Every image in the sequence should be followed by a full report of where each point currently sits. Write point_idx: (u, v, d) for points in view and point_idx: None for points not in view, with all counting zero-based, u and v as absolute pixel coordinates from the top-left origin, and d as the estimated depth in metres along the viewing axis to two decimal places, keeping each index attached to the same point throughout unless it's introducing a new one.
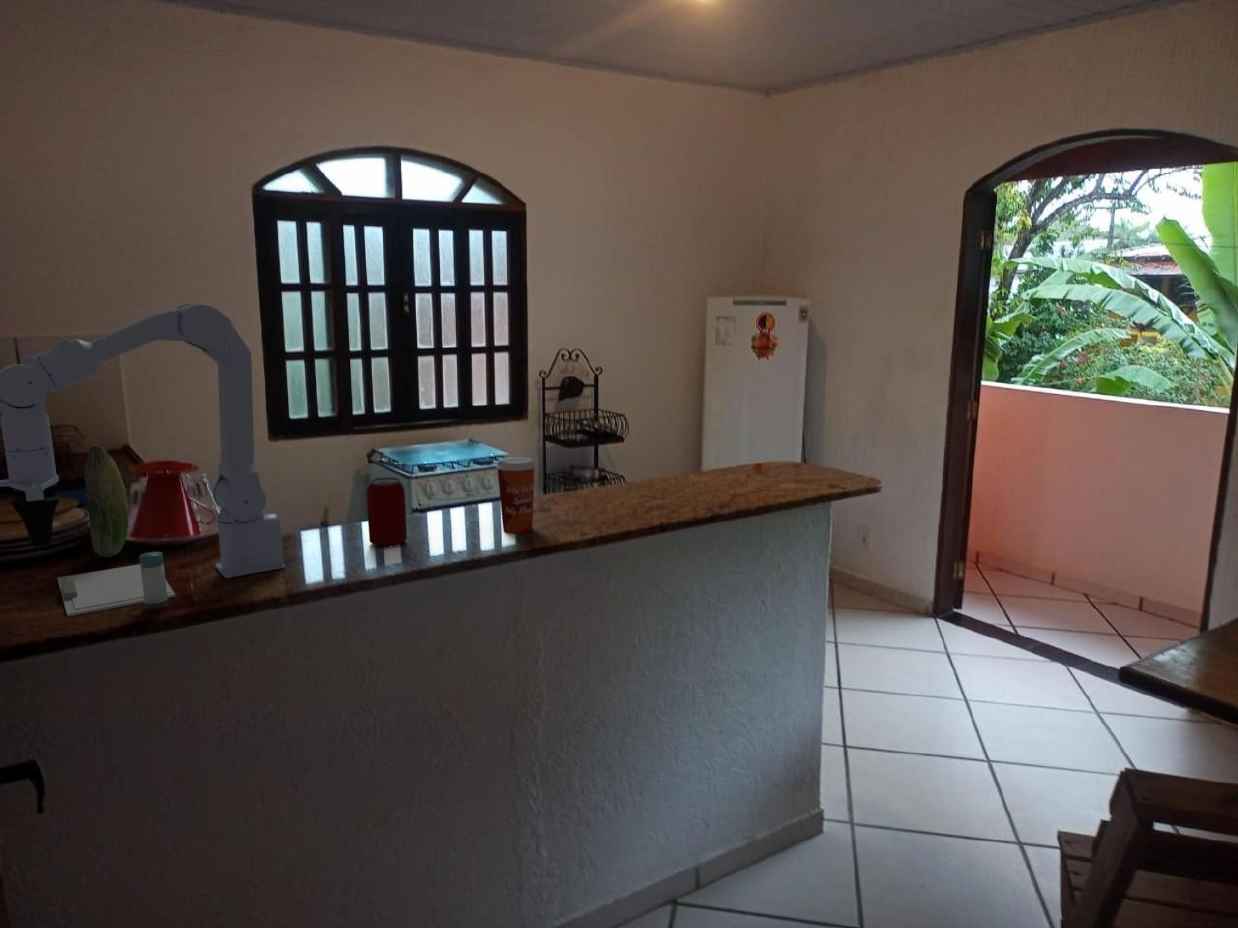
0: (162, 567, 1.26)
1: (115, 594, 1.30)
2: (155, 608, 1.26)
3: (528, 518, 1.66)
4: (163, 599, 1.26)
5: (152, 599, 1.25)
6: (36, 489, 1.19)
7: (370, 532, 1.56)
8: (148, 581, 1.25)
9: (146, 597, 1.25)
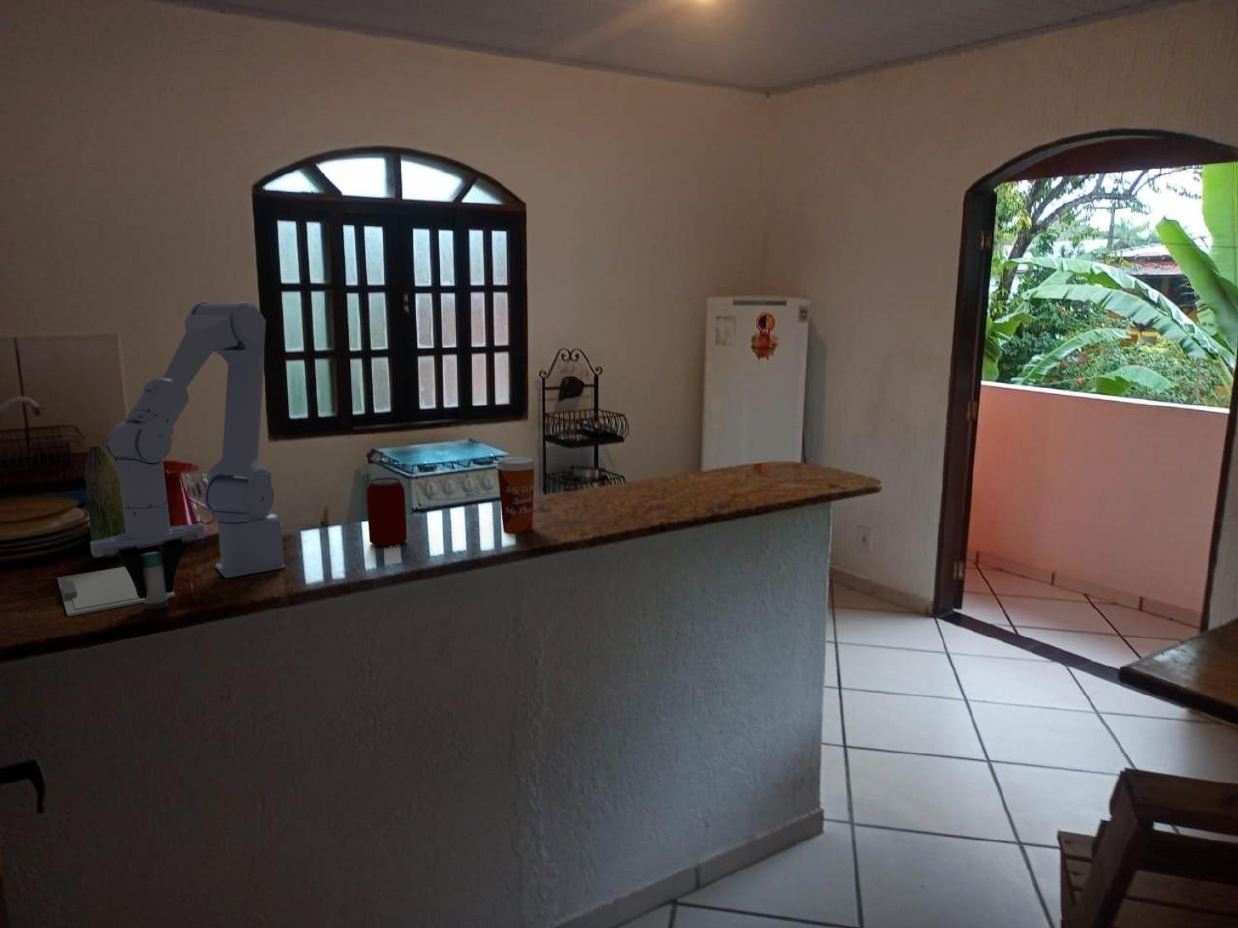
0: (162, 567, 1.26)
1: (115, 594, 1.30)
2: (155, 608, 1.26)
3: (528, 518, 1.66)
4: (163, 599, 1.26)
5: (152, 599, 1.25)
6: (92, 546, 1.20)
7: (370, 532, 1.56)
8: (148, 581, 1.25)
9: (146, 597, 1.25)
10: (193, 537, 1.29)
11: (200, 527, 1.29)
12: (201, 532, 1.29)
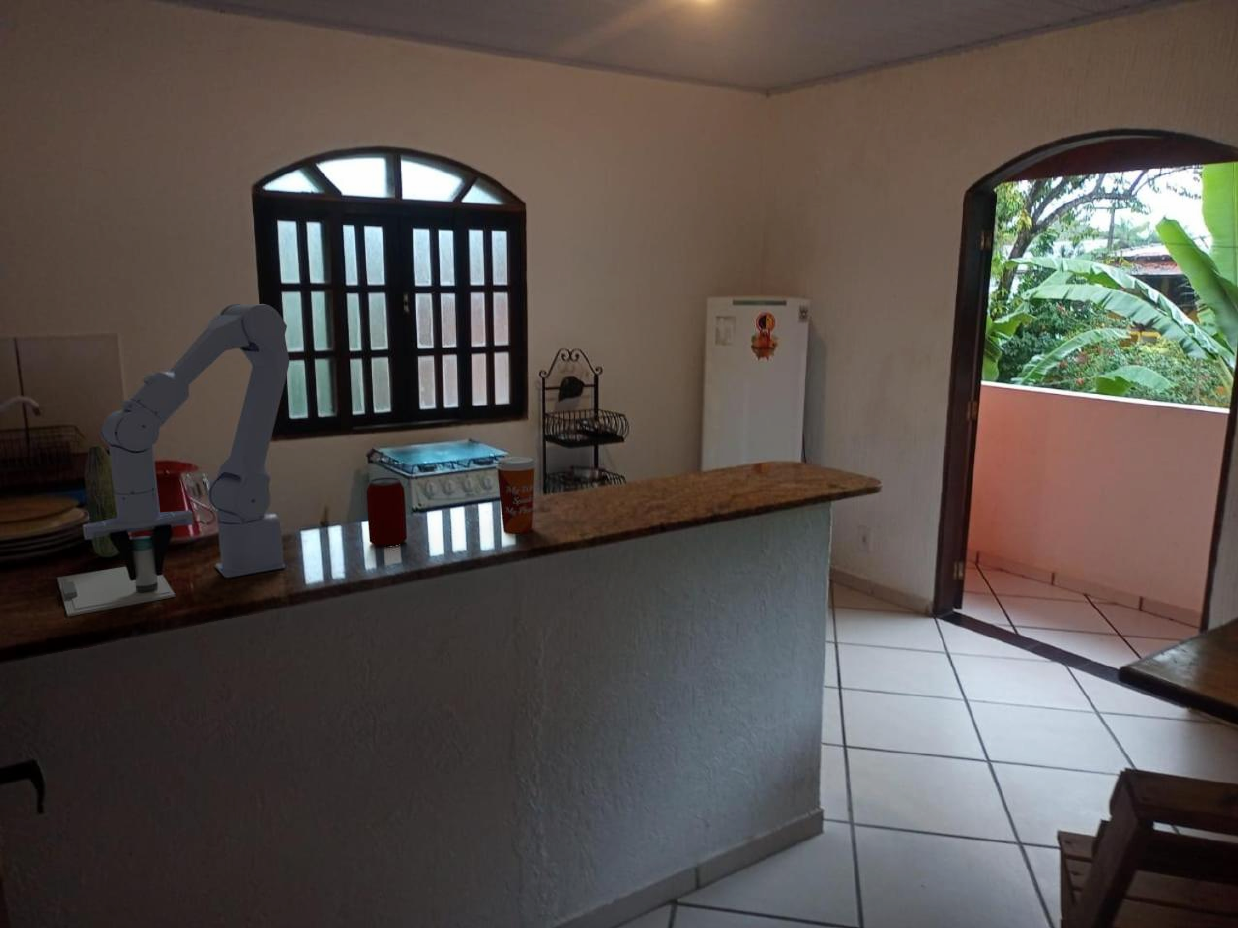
0: (151, 551, 1.31)
1: (115, 594, 1.30)
2: (144, 590, 1.31)
3: (528, 518, 1.66)
4: (152, 582, 1.31)
5: (141, 581, 1.31)
6: (83, 528, 1.26)
7: (370, 532, 1.56)
8: (137, 564, 1.30)
9: (136, 579, 1.31)
10: (183, 523, 1.34)
11: (189, 514, 1.33)
12: (190, 519, 1.33)
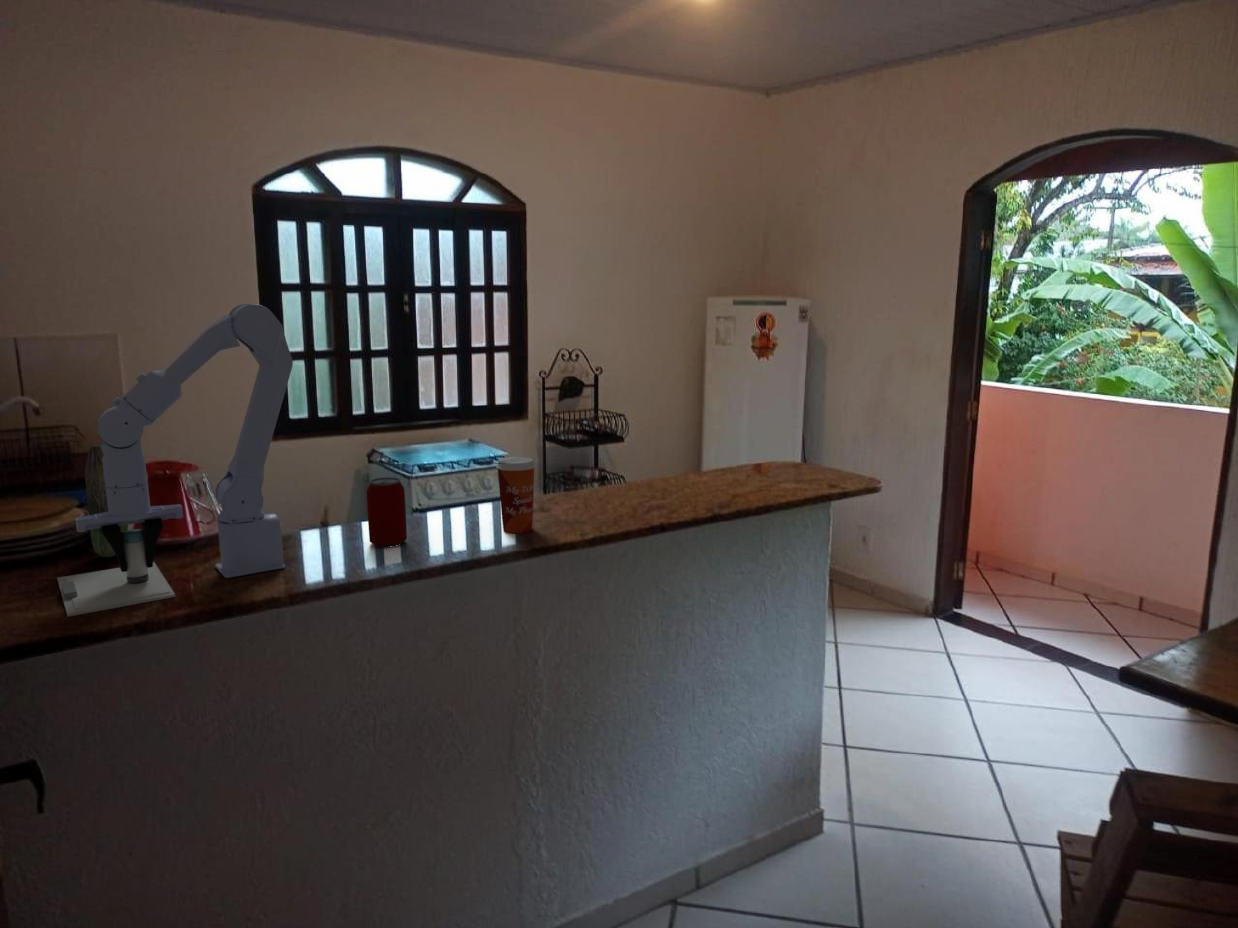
0: (142, 543, 1.35)
1: (115, 594, 1.30)
2: (135, 581, 1.35)
3: (528, 518, 1.66)
4: (143, 573, 1.35)
5: (132, 573, 1.35)
6: (76, 521, 1.30)
7: (370, 532, 1.56)
8: (128, 556, 1.34)
9: (127, 571, 1.35)
10: (173, 516, 1.38)
11: (179, 507, 1.37)
12: (180, 512, 1.38)
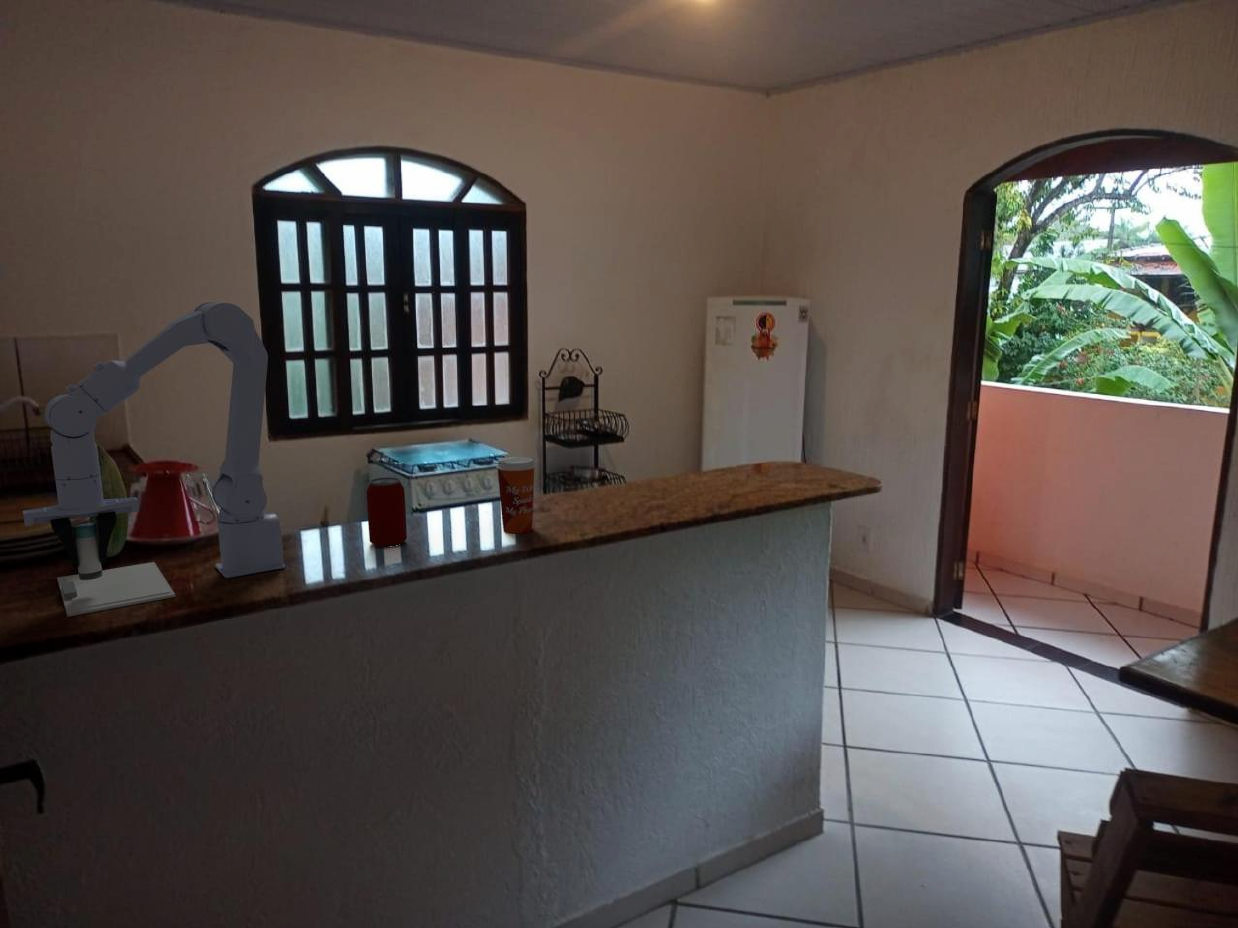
0: (95, 538, 1.29)
1: (115, 594, 1.30)
2: (87, 578, 1.29)
3: (528, 518, 1.66)
4: (96, 570, 1.29)
5: (84, 569, 1.28)
6: (23, 515, 1.23)
7: (370, 532, 1.56)
8: (80, 551, 1.28)
9: (79, 567, 1.28)
10: (128, 510, 1.31)
11: (134, 500, 1.31)
12: (135, 506, 1.31)
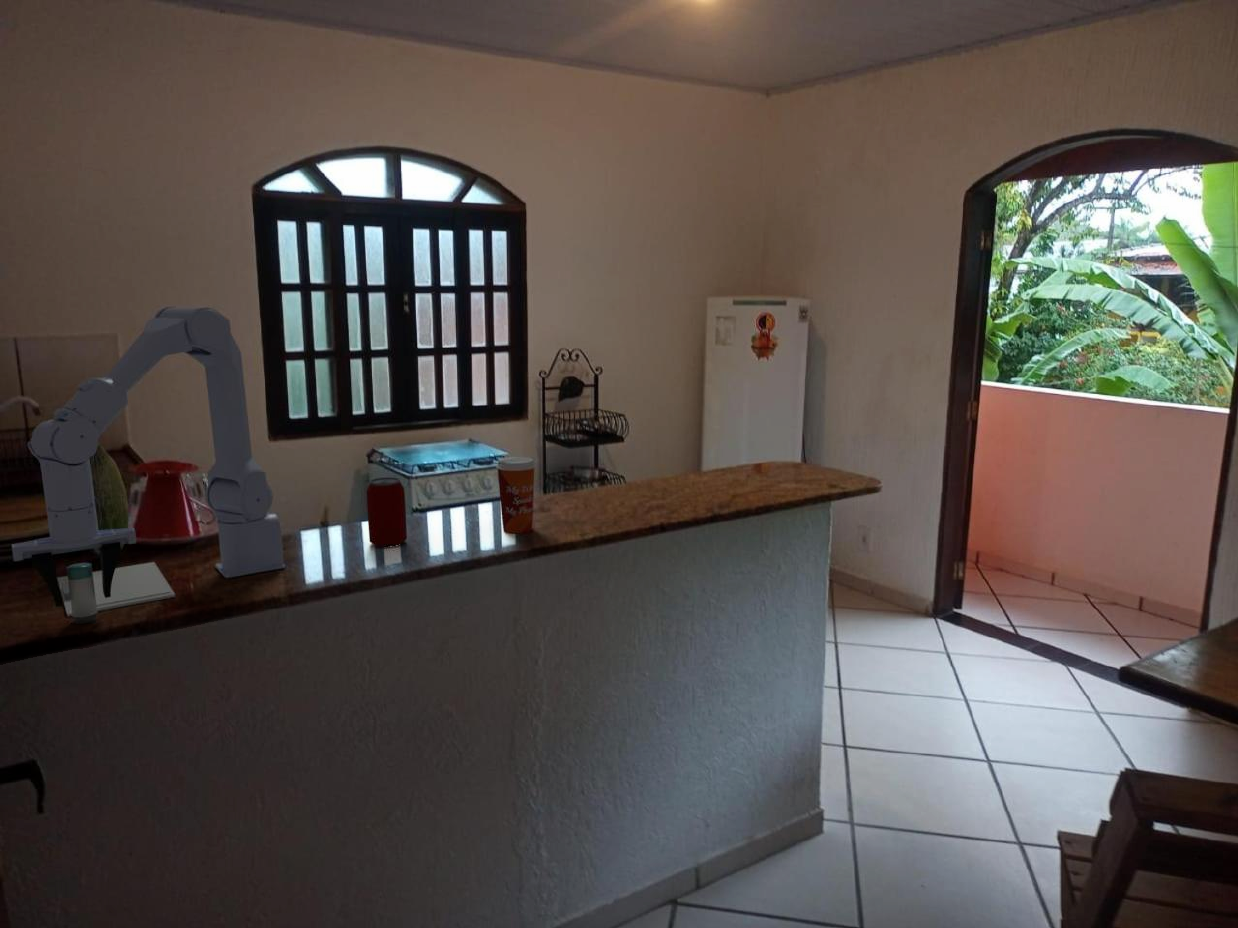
0: (90, 579, 1.20)
1: (115, 594, 1.30)
2: (82, 622, 1.20)
3: (528, 518, 1.66)
4: (91, 613, 1.21)
5: (79, 612, 1.20)
6: (12, 549, 1.15)
7: (370, 532, 1.56)
8: (74, 593, 1.19)
9: (73, 610, 1.20)
10: (124, 542, 1.23)
11: (131, 531, 1.23)
12: (133, 537, 1.23)
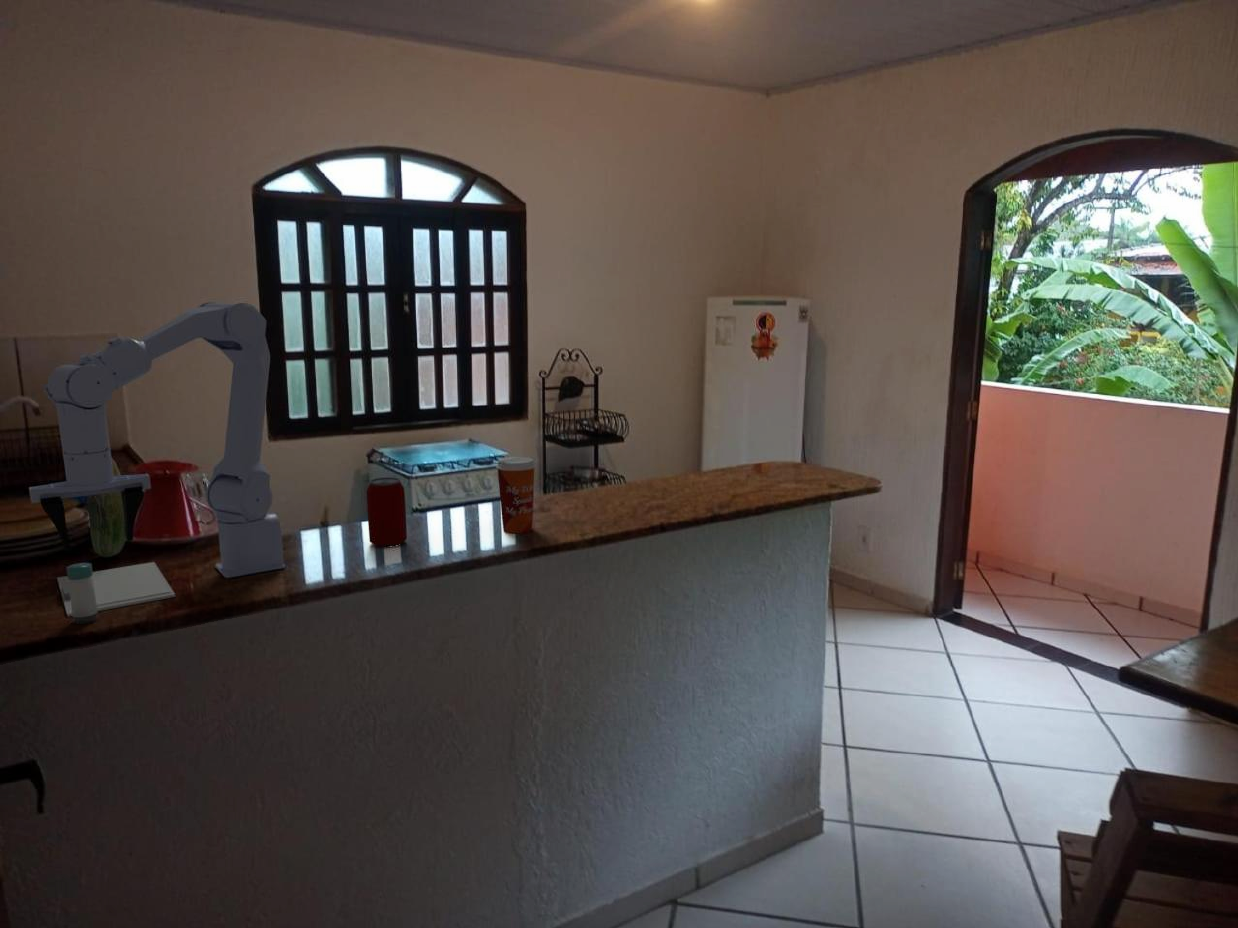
0: (90, 579, 1.20)
1: (115, 594, 1.30)
2: (82, 622, 1.20)
3: (528, 518, 1.66)
4: (91, 613, 1.21)
5: (79, 612, 1.20)
6: (29, 491, 1.17)
7: (370, 532, 1.56)
8: (74, 593, 1.19)
9: (73, 610, 1.20)
10: None
11: (146, 477, 1.24)
12: (147, 483, 1.25)
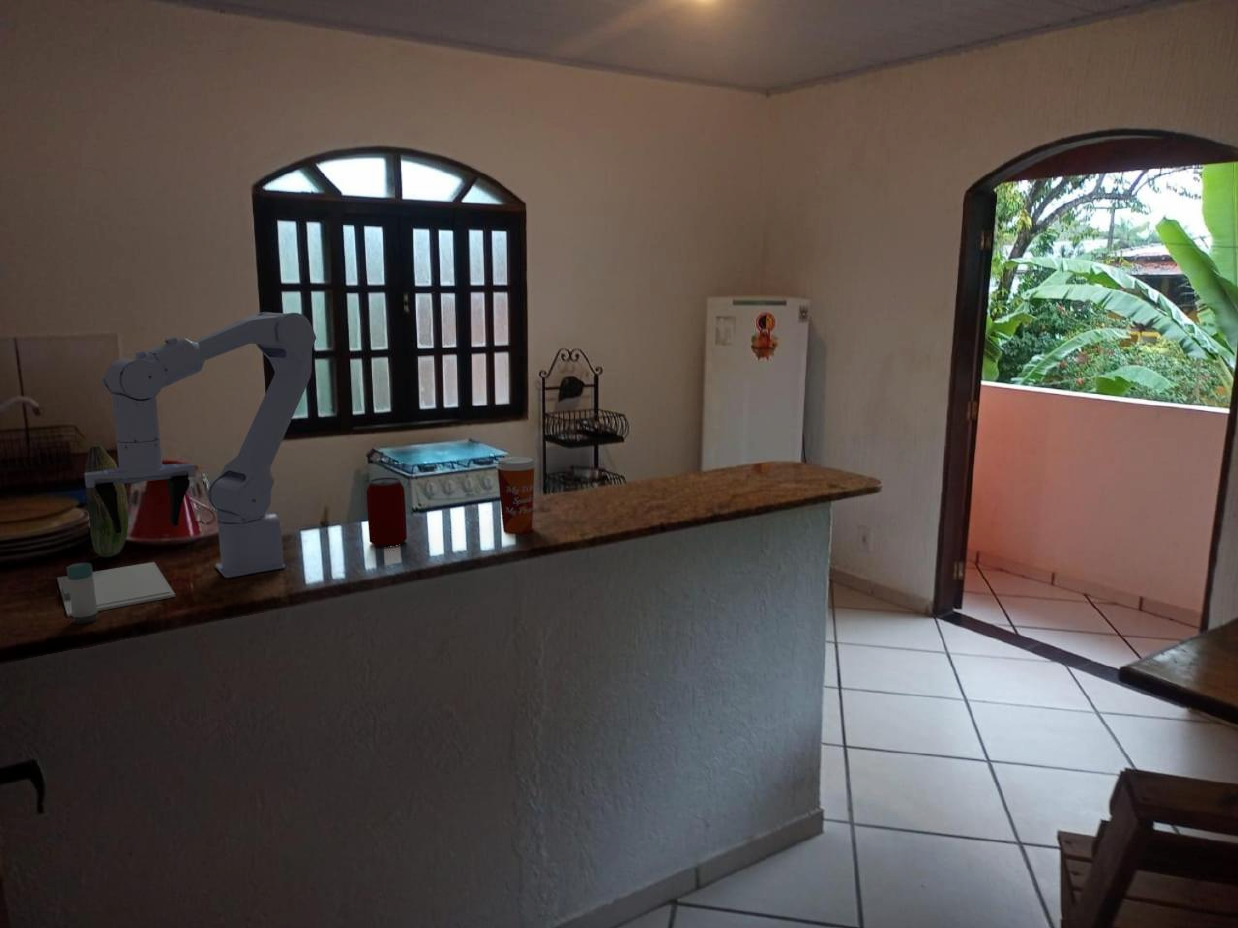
0: (90, 579, 1.20)
1: (115, 594, 1.30)
2: (82, 622, 1.20)
3: (528, 518, 1.66)
4: (91, 613, 1.21)
5: (79, 612, 1.20)
6: (85, 476, 1.25)
7: (370, 532, 1.56)
8: (74, 593, 1.19)
9: (73, 610, 1.20)
10: None
11: (192, 466, 1.32)
12: (193, 471, 1.32)
